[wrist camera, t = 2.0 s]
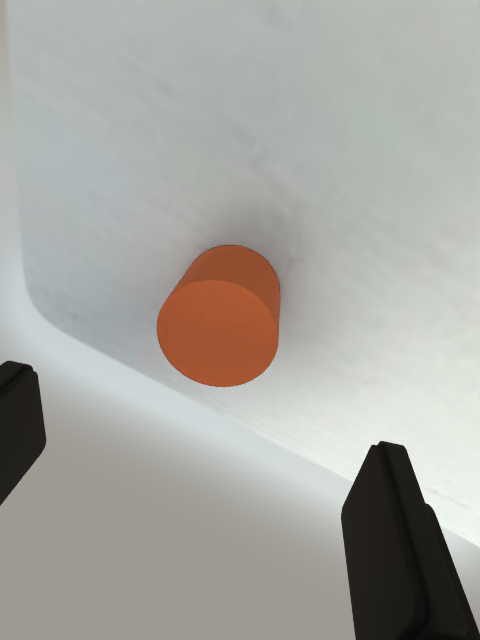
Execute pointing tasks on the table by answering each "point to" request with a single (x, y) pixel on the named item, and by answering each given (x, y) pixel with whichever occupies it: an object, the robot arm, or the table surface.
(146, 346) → the table surface
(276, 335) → the orange cylinder
